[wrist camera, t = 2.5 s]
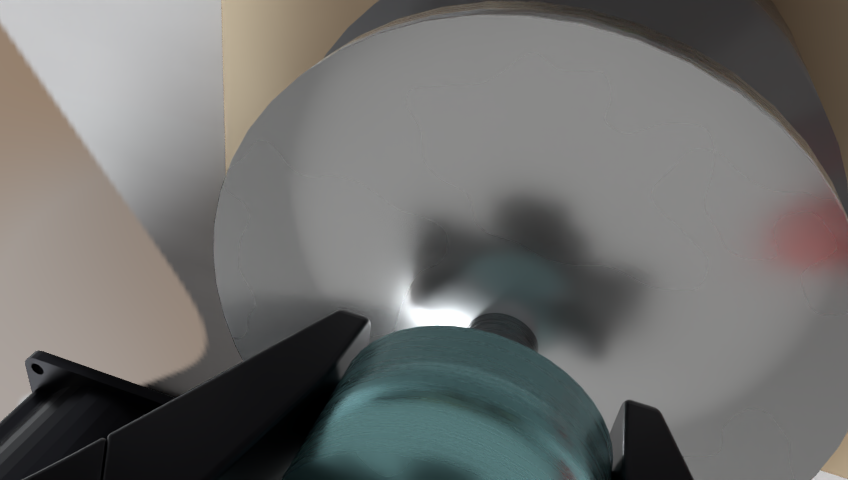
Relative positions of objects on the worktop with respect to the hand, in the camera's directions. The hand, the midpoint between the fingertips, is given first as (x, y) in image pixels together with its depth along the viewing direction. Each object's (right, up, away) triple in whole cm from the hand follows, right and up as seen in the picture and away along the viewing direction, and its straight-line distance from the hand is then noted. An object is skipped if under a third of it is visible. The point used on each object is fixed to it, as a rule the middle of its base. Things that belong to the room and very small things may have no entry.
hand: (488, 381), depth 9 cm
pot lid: (0, +1, +1) cm, 1 cm away
